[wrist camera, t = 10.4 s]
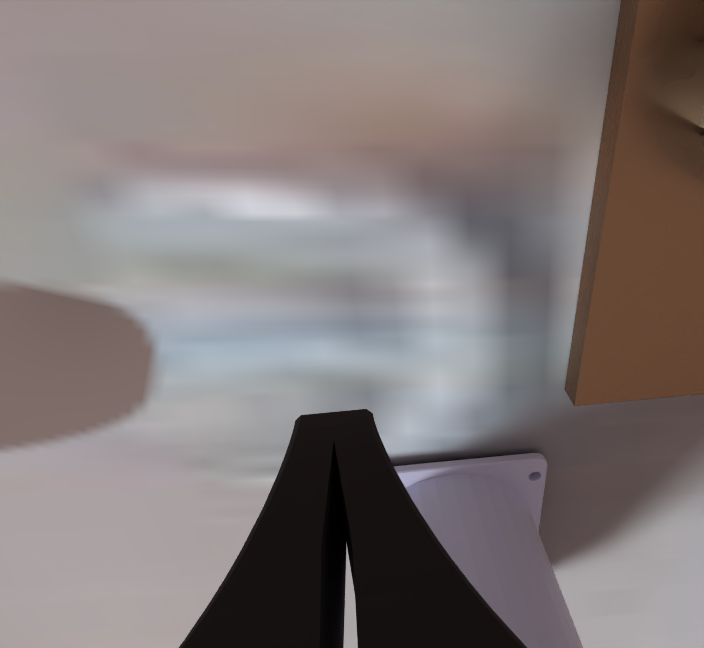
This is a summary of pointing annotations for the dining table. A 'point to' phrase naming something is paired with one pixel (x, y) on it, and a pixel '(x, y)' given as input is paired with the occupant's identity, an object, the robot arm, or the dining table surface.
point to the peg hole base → (646, 217)
